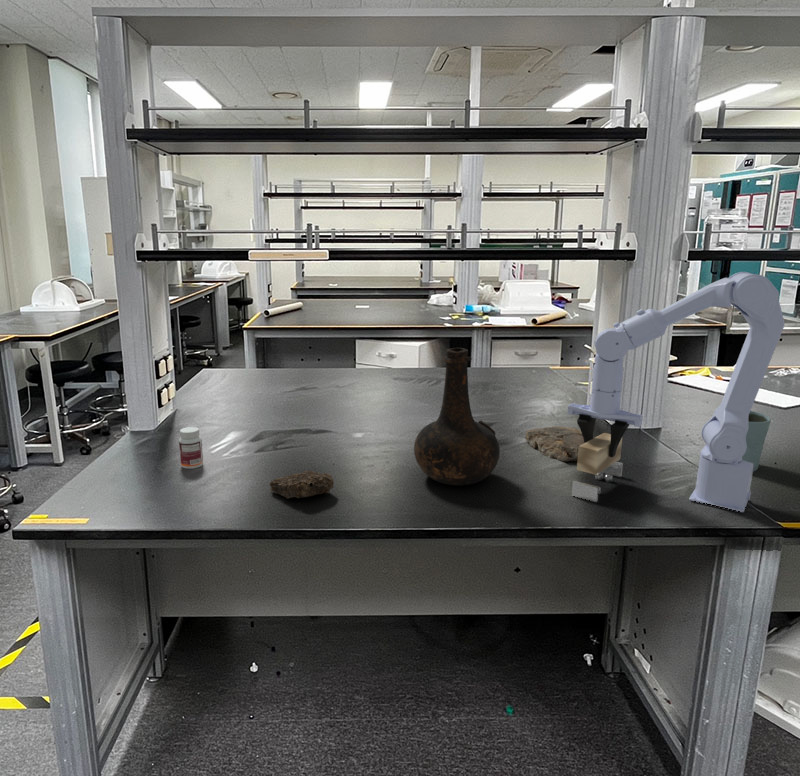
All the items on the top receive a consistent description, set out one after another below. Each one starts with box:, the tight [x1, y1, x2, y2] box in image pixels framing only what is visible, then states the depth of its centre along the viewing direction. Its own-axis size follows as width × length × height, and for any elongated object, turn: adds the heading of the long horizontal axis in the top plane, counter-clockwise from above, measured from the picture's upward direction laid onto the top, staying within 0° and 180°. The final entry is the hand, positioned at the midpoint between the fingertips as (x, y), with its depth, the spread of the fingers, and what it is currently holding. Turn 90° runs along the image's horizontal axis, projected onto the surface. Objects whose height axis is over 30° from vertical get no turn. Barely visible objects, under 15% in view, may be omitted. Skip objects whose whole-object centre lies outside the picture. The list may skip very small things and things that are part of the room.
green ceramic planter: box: [742, 410, 772, 472], centre depth 137 cm, size 10×10×12 cm
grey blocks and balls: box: [570, 461, 624, 503], centre depth 126 cm, size 5×17×3 cm, turn 144°
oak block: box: [576, 432, 623, 476], centre depth 125 cm, size 4×12×5 cm, turn 138°
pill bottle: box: [178, 426, 204, 470], centre depth 135 cm, size 5×5×8 cm
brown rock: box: [268, 470, 335, 499], centre depth 121 cm, size 12×10×5 cm
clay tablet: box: [524, 426, 584, 462], centre depth 146 cm, size 14×5×20 cm
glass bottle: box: [413, 347, 501, 486], centre depth 127 cm, size 18×18×28 cm
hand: (600, 453), depth 125 cm, fingers closed on oak block, 4 cm apart
